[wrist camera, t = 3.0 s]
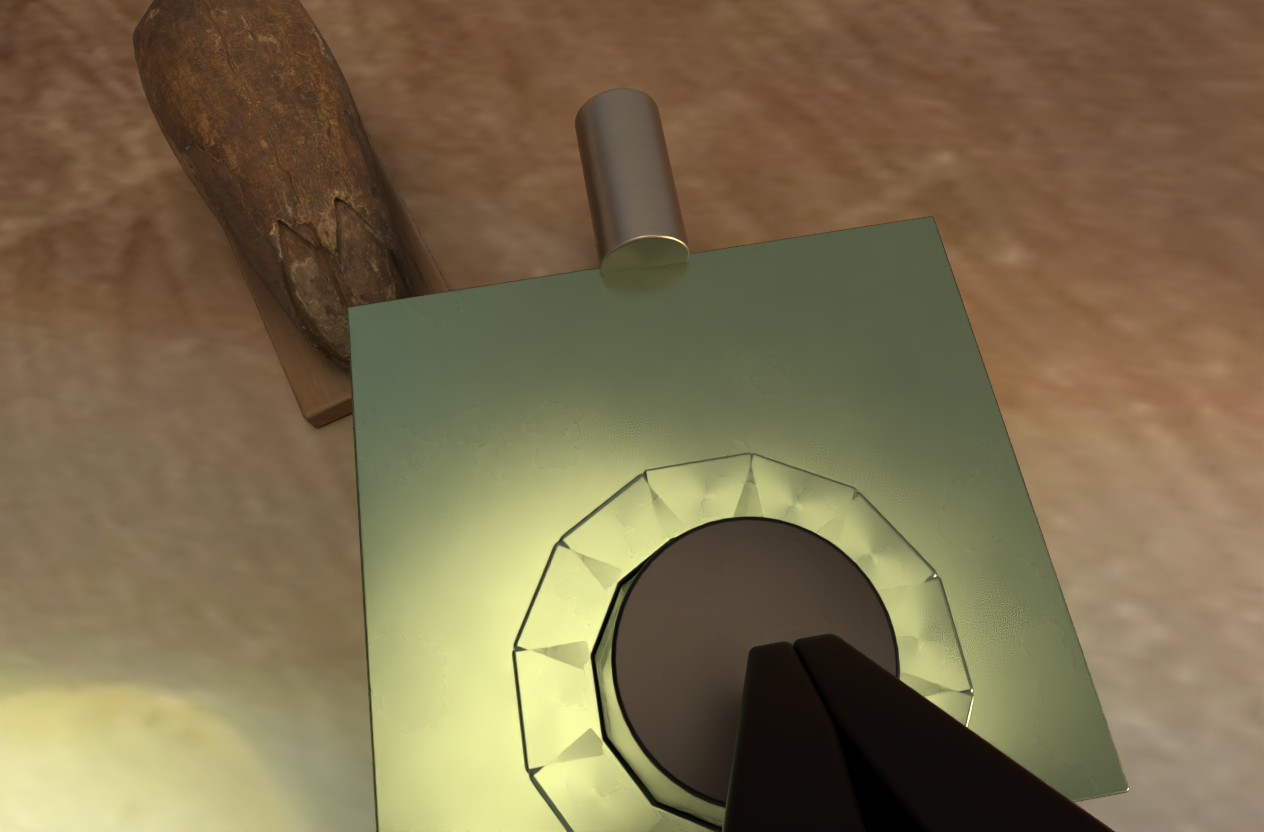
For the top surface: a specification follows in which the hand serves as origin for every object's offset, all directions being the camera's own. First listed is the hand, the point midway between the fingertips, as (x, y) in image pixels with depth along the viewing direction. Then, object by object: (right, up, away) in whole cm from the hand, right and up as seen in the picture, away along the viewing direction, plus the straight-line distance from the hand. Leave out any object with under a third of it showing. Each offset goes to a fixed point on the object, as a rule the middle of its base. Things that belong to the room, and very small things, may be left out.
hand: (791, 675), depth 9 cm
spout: (-2, +7, +10) cm, 13 cm away
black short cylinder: (0, -1, +5) cm, 5 cm away
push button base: (0, -1, +12) cm, 12 cm away
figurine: (-11, +9, +16) cm, 21 cm away
